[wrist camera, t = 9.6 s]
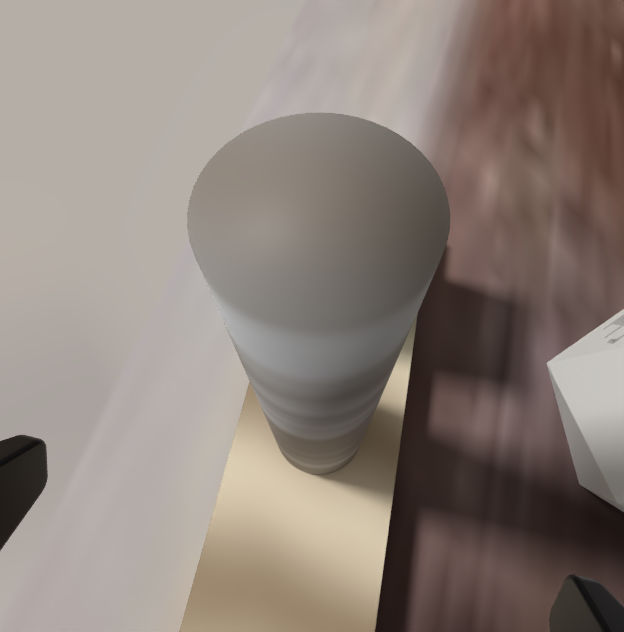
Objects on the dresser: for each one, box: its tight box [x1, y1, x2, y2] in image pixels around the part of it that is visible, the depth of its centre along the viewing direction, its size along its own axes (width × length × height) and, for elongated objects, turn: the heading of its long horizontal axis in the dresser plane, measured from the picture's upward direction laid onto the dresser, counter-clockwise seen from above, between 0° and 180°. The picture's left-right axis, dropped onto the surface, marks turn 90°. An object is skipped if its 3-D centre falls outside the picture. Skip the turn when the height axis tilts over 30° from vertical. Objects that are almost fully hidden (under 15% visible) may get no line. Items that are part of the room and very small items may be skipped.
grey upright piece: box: [179, 113, 450, 632], centre depth 12 cm, size 20×6×14 cm, turn 168°
